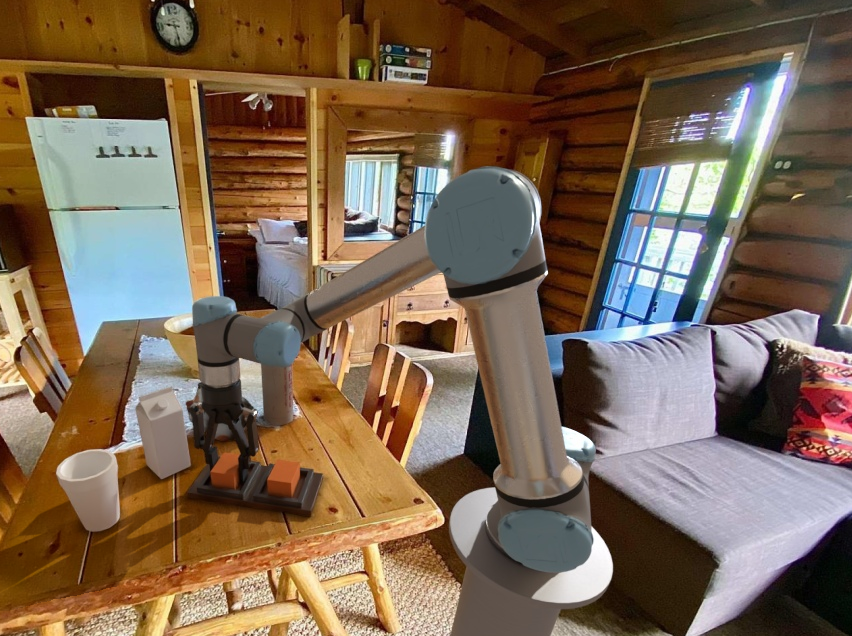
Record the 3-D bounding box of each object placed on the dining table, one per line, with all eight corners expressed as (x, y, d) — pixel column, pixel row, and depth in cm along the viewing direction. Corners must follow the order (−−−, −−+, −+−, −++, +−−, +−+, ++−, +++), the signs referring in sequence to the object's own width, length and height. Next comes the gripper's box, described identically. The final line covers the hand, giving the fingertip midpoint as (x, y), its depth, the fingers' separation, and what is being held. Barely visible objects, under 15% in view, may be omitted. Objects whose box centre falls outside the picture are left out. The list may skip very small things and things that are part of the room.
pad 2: (300, 477, 95) (299, 462, 93) (291, 498, 89) (291, 483, 87) (277, 474, 95) (277, 459, 94) (267, 495, 89) (266, 479, 87)
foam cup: (139, 508, 87) (126, 454, 81) (105, 542, 79) (88, 485, 73) (99, 498, 89) (84, 445, 83) (62, 530, 81) (43, 474, 75)
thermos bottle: (299, 415, 121) (298, 317, 108) (281, 428, 115) (278, 326, 102) (276, 407, 124) (272, 311, 112) (257, 419, 118) (251, 319, 106)
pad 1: (246, 470, 96) (245, 455, 95) (235, 490, 90) (233, 475, 88) (225, 467, 97) (223, 452, 95) (212, 487, 91) (210, 471, 89)
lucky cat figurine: (234, 448, 106) (199, 406, 99) (201, 450, 113) (167, 411, 106) (263, 406, 116) (233, 365, 109) (231, 410, 123) (202, 372, 116)
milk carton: (146, 465, 99) (131, 391, 91) (175, 453, 104) (164, 380, 95) (161, 480, 95) (146, 403, 86) (191, 466, 99) (180, 392, 91)
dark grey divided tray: (323, 478, 97) (323, 468, 96) (311, 516, 86) (311, 506, 85) (211, 463, 101) (210, 453, 99) (187, 498, 90) (185, 487, 89)
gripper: (274, 376, 85) (277, 472, 96) (183, 366, 88) (196, 461, 98) (261, 394, 78) (266, 495, 89) (164, 383, 81) (180, 482, 92)
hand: (229, 477), depth 94 cm, fingers open, 6 cm apart
